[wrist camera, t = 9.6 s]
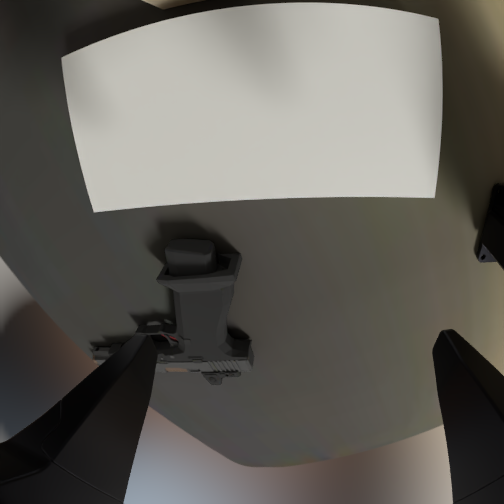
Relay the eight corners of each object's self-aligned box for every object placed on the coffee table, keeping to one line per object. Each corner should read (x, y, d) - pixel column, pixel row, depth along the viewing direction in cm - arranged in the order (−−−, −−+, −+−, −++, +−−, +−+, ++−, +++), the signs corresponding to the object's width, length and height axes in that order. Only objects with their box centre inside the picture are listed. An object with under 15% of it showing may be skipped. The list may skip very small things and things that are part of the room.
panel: (415, 25, 12) (438, 18, 9) (415, 179, 17) (434, 198, 14) (89, 56, 14) (61, 57, 12) (115, 193, 20) (94, 212, 17)
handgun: (25, 283, 23) (102, 382, 31) (220, 245, 18) (277, 387, 25) (42, 264, 26) (112, 362, 33) (230, 220, 20) (280, 359, 28)
